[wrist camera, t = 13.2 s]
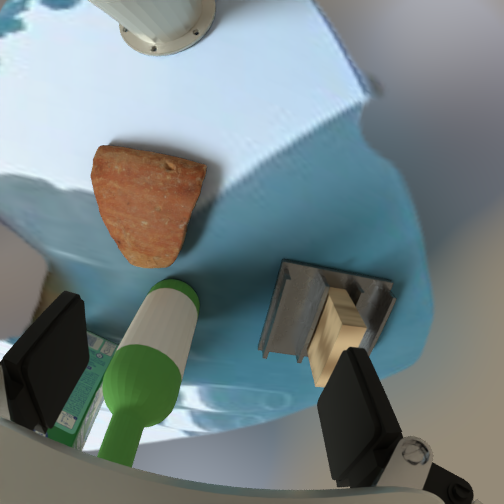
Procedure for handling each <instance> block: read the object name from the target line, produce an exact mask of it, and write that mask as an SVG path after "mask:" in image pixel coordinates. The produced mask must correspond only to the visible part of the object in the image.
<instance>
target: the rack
mask: <svg viewBox="0 0 504 504" xmlns="http://www.w3.org/2000/svg"><path fill="white" fill-rule="evenodd" d="M392 285H393V282H392V281H391V280H388V279H382V278H377V277H372V276H367V275H362V274H357V273H352V272H347V271H342V270H337V269H332V268H327V267H322V266H317V265H311V264H306V263H301V262H296V261H291V260H286V259H282V262H281V266H280V269H279V273H278V277H277V280H276V284H275V288H274V291H273V295H272V298H271V302H270V305H269V309H268V313H267V316H266V320H265V323H264V327H263V330H262V333H261V337H260V340H259V344H258V350H262V354H263V358H265V359H267V356H268V353H269V352H275V353H283V354H290V355H296V359H297V363H301V362H302V360H303V357H304V356H306V357H308V353H307V347H308V345H309V342H310V340H311V337H312V335H313V332H314V329H315V327H316V324H317V321H318V319H319V316H320V313H321V311H322V308H323V305H324V303H325V300H326V297H327V294H328V291H329V289H330V287H333V288H339V289H345V290H346V291H347V292H348V294H349V296H350V298H351V300H352V301H353V303H354V305H355V307H356V309H357V310H358V312H359V314H360V316H361V318H362V319H363V321H364V323H365V325H366V327H367V329H366V331H365V334H364V336H363V338H362V340H361V342H360V344H359V347H358V348H364V349H365V350H366V351H367V354H368V356H370V354H371V352H372V350H373V348H374V346H375V344H376V342H377V340H378V338H379V336H380V334H381V332H382V330H383V328H384V325H385V323H386V321H387V319H388V317H389V315H390V312H391V310H392V308H393V306H394V304H395V301H396V299H397V298H396V297H395V296H394V295H393V293H392V292H391V291H390V290H391V288H392Z"/></svg>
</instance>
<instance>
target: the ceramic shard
mask: <svg viewBox="0 0 504 504" xmlns="http://www.w3.org/2000/svg"><path fill="white" fill-rule="evenodd" d="M206 169H207V166H206V165H205V164H201V163H197V162H194V161H190V160H187V159H183V158H179V157H174V156H170V155H165V154H160V153H155V152H150V151H143V150H135V149H132V148H126V147H119V146H110V145H102V146H100V147H98V149H97V151H96V154H95V156H94V159H93V167H92V172H91V180H92V185H93V189H94V194H95V196H96V200H97V203H98V206H99V212H100V215H101V217H102V219H103V221H104V223H105V225H106V227H107V229H108V230H109V233H110V235H111V237H112V238H113V239H114V240H115V242H116V243H117V245H118V248H119V249H120V251H121V252H122V254H123V255H124V257H125V258H126V259H127V260H128V261H129V262H130V264H132V265H134V266H138V267H142V268H164V267H168V266H170V265H171V264H173V263H174V261H175V260H176V258H177V256H178V254H179V251H180V250H181V249H182V246H183V243H184V239H185V235H186V232H187V226H188V223H189V220H190V218H191V214H192V211H193V209H194V207H195V205H196V202H197V200H198V197H199V195H200V192H201V187H202V182H203V180H204V178H205V174H206Z"/></svg>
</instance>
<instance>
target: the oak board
mask: <svg viewBox="0 0 504 504" xmlns="http://www.w3.org/2000/svg"><path fill="white" fill-rule="evenodd" d="M366 329H367V327H366V325H365V323H364V321H363V319H362V318H361V316H360V314H359V312H358V310H357V309H356V307H355V305H354V303H353V301H352V300H351V298H350V296H349V294H348V292H347V291H346V290H345V289H339V288H333V287H330V289H329V291H328V294H327V297H326V300H325V303H324V305H323V308H322V311H321V313H320V316H319V319H318V321H317V324H316V327H315V329H314V332H313V335H312V337H311V340H310V342H309V345H308V347H307V353H308V357H309V361H310V366H311V370H312V374H313V379H314V383H315V387H325V386H326V384H327V382H328V380H329V378H330V376H331V374H332V372H333V370H334V368H335V366H336V364H337V362H338V359H339V357H340V355H341V353H342V352H343V351H344V350H347V349H348V348H349V347H359V344H360V342H361V340H362V338H363V336H364V334H365V331H366Z"/></svg>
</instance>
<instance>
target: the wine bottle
mask: <svg viewBox="0 0 504 504" xmlns="http://www.w3.org/2000/svg"><path fill="white" fill-rule="evenodd" d="M199 309H200V303H199V299H198V296H197V294H196V293H195V291H194V290H193V289H192V288H191V287H190V286H189V285H187V284H186V283H184V282H182V281H179V280H174V279H168V280H163V281H161V282H158V283H157V284H156V285H154V286H153V287H152V288H151V290H150V291H149V293H148V295H147V296H146V298H145V300H144V301H143V303H142V305H141V307H140V308H139V310H138V312H137V314H136V315H135V317H134V319H133V321H132V323H131V324H130V326H129V328H128V330H127V332H126V333H125V335H124V337H123V339H122V341H121V343H120V345H119V346H118V348H117V350H116V352H115V354H114V356H113V358H112V360H111V362H110V364H109V366H108V368H107V370H106V372H105V374H104V378H103V386H102V391H103V396H104V400H105V403H106V405H107V407H108V408H109V410H110V411H111V413H112V414H113V415H112V418H111V421H110V423H109V426H108V429H107V431H106V434H105V437H104V439H103V442H102V445H101V447H100V450H99V453H98V456H97V457H99V458H102V459H105V460H108V461H111V462H114V463H118V464H121V465H124V466H128V467H131V468H132V465H133V461H134V458H135V454H136V451H137V448H138V445H139V441H140V438H141V435H142V431H143V429H144V427H150V426H153V425H156V424H158V423H160V422H162V421H163V420H164V419H165V418H166V417H167V416H168V415H169V414H170V413H171V412H172V410H173V408H174V406H175V403H176V401H177V397H178V393H179V389H180V385H181V382H182V378H183V374H184V370H185V366H186V362H187V358H188V354H189V350H190V346H191V342H192V338H193V335H194V331H195V327H196V323H197V319H198V315H199Z"/></svg>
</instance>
